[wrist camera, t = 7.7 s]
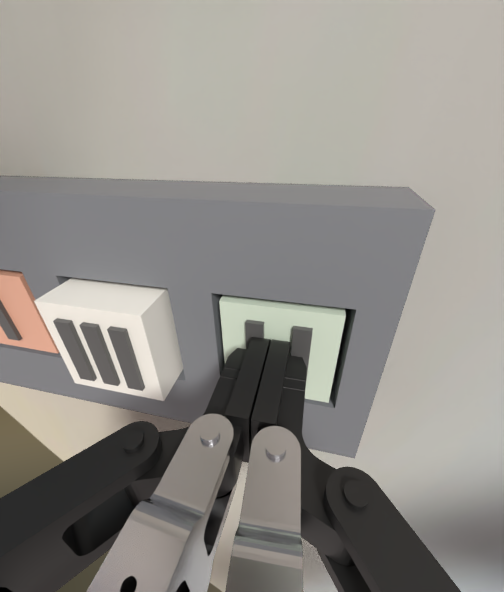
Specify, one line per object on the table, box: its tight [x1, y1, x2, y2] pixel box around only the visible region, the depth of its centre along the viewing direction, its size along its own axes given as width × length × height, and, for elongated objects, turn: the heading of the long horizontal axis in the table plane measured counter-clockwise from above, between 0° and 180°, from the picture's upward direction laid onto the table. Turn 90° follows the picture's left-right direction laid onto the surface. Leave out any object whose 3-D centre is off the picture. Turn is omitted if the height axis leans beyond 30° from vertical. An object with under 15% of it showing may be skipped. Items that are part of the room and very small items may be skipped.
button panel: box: [0, 176, 435, 458], centre depth 14 cm, size 22×12×3 cm, turn 90°
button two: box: [219, 295, 346, 403], centre depth 13 cm, size 5×5×3 cm
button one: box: [0, 269, 59, 354], centre depth 15 cm, size 5×5×3 cm
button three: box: [34, 277, 183, 401], centre depth 13 cm, size 5×5×3 cm
